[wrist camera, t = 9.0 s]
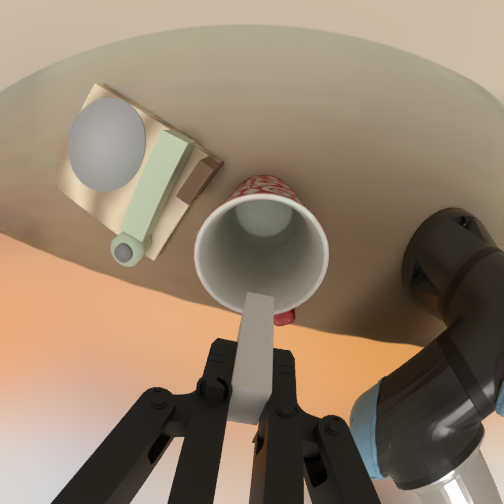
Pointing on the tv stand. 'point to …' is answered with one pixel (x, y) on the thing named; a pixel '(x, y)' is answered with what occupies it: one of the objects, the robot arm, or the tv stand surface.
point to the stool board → (117, 201)
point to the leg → (151, 196)
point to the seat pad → (106, 144)
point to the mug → (262, 248)
